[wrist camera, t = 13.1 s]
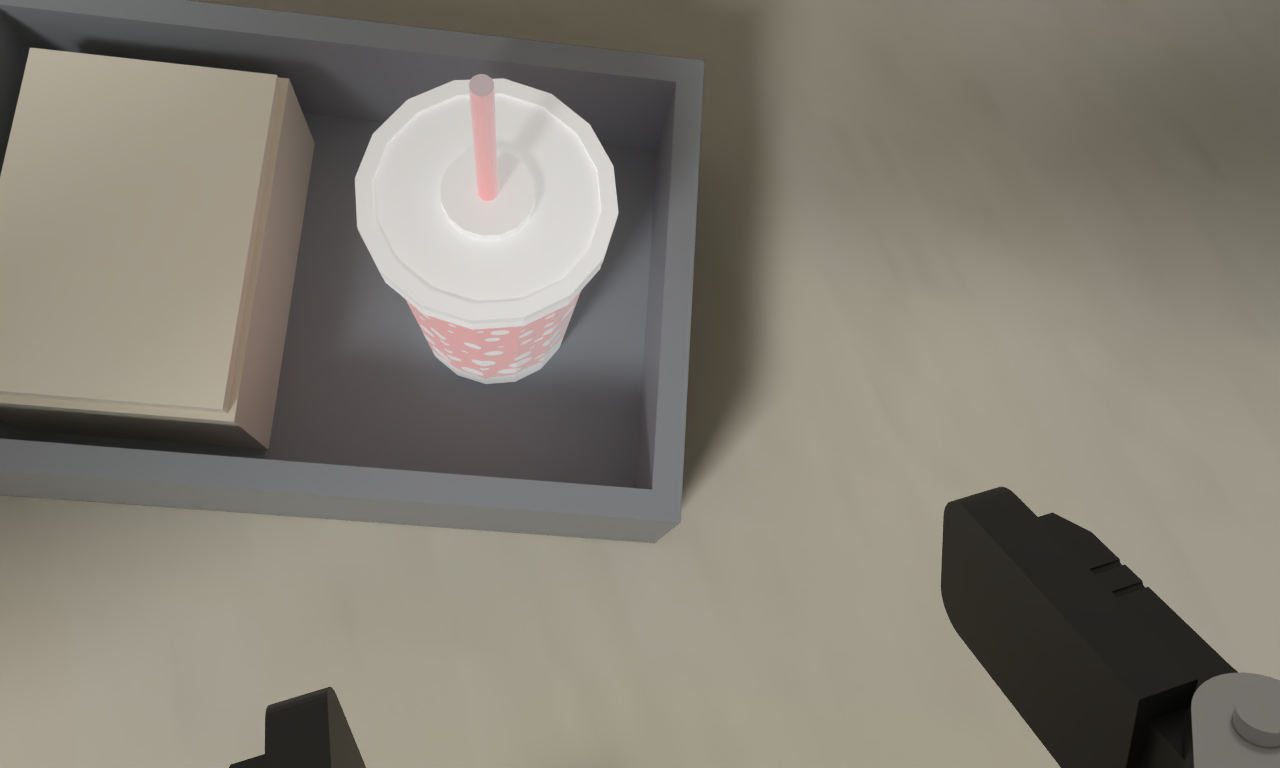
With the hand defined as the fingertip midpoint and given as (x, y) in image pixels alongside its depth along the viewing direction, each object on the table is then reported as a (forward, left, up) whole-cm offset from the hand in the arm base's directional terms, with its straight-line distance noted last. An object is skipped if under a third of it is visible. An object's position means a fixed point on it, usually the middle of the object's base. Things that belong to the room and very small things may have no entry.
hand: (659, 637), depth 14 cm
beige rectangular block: (-13, +10, -18) cm, 25 cm away
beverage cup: (-3, +10, -19) cm, 21 cm away
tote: (-8, +10, -19) cm, 23 cm away
